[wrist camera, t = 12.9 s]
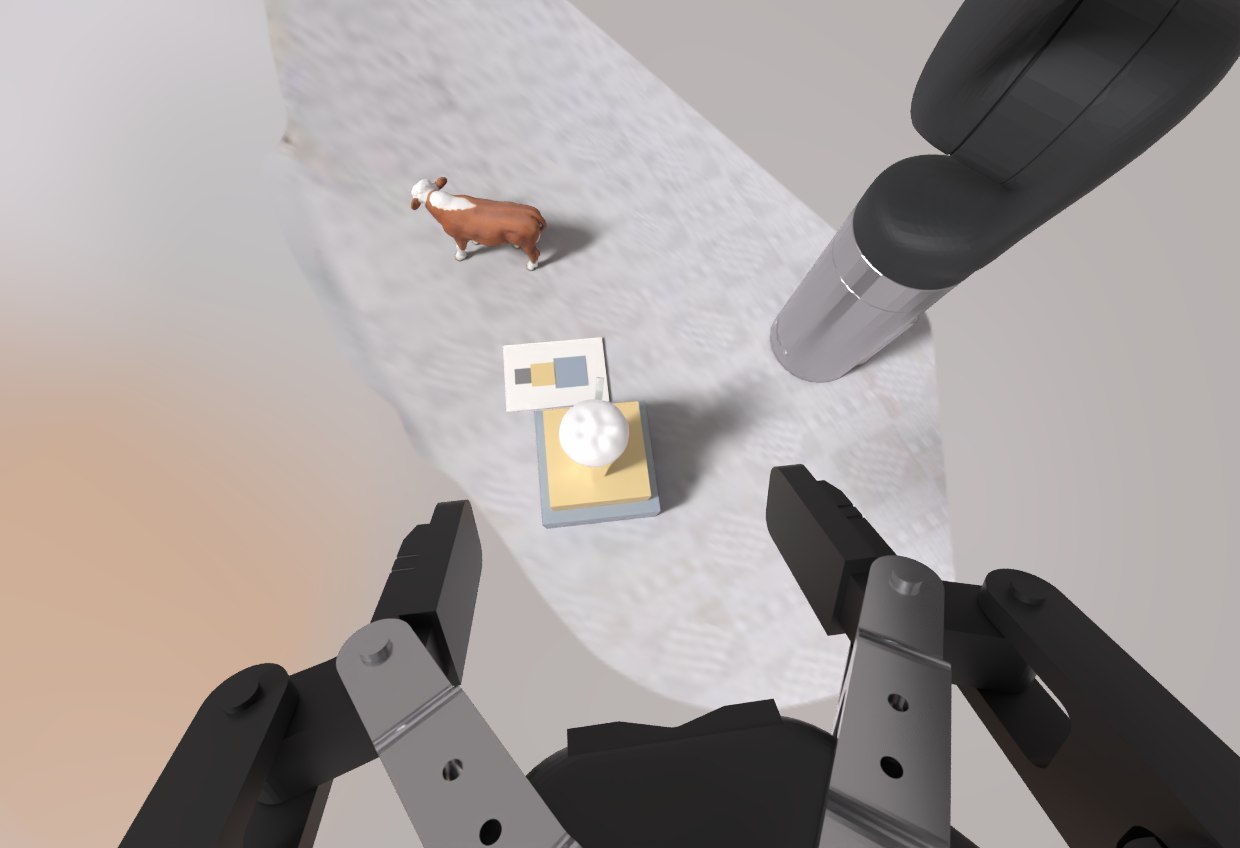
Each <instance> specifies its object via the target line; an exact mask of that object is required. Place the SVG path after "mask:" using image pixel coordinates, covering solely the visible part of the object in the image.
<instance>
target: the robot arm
mask: <svg viewBox="0 0 1240 848" xmlns="http://www.w3.org/2000/svg"><path fill="white" fill-rule="evenodd" d="M1239 56H1240V0H965V1H964V3H963V4H962V5H961V7H960V8H959V10H958V11H957V13H956V15H955V16H954V18H953V19H952V21H951V22H950V24H949V25H948V27H947V28H946V30H945V32H944V33H943V35H942V36H941V38H940V39H939V41H938V43H937V45H936V47H935V48H934V50H933V52H932V54H931V55H930V57H929V59H928V61H927V63H926V64H925V67H924V69H923V71H922V73H921V75H920V78H919V80H918V82H917V85H916V88H915V91H914V94H913V98H912V103H911V119H912V124H913V126H914V128H915V129H916V131H917V132H918V133H919V134H920V135H921V136H922V137H923V138H924V139H926V140H927V141H928V142H929V143H930V144H931V145H933V146H934V147H935V148H937V149H938V150H940V151H942V152H943V153H945V154H947V155H948V154H950V156H947V155H920V156H914V157H910V158H906V159H903V160H901V161H899V162H897V163H895V164H893V165H891V166H890V167H889V168H887V169H886V170H884V171H883V172H882V173H881V174H880V175H879V176H878V177H877V178H876V179H875V180H874V182H873V183H872V184H871V185H870V187H869V188H868V189H867V191H866V192H865V194H864V195H863V197H862V198H861V199H860V201H859V202H858V203H857V205H856V206H855V208H854V209H853V210H852V212H851V213H850V215H849V216H848V217H847V219H846V220H845V222H844V223H843V225H842V226H841V227H840V229H839V230H838V232H837V233H836V235H835V236H834V237H833V239H832V240H831V242H830V243H829V244H828V246H827V247H826V249H825V250H824V251H823V253H822V254H821V256H820V257H819V258H818V260H817V261H816V263H815V264H814V265H813V267H812V268H811V270H810V271H809V272H808V274H807V275H806V277H805V278H804V279H803V281H802V282H801V284H800V285H799V286H798V288H797V289H796V291H795V292H794V293H793V295H792V296H791V298H790V299H789V300H788V302H787V303H786V305H785V306H784V308H783V309H782V310H781V312H780V313H779V315H778V316H777V318H776V319H775V321H774V323H773V325H772V328H771V335H770V339H771V346H772V349H773V352H774V354H775V356H776V358H777V359H778V361H779V362H780V363H781V365H782V366H783V367H784V368H785V369H786V370H788V371H789V372H790V373H791V374H793V375H795V376H797V377H799V378H801V379H803V380H807V381H810V382H829V381H832V380H835V379H838V378H839V377H841V376H843V375H844V374H846V373H847V372H848V371H849V370H851V369H852V368H853V367H855V366H856V365H862V364H863V363H864V362H866V361H867V360H868V359H870V358H871V357H872V356H874V355H875V354H876V353H877V352H879V351H880V350H881V349H883V348H884V347H885V346H886V345H888V344H889V343H890V342H892V341H893V340H894V339H895V338H897V337H898V336H899V335H901V334H902V333H903V332H905V331H906V330H907V329H908V328H910V327H911V326H912V325H914V324H915V323H916V322H917V321H918V318H919V315H920V314H922V313H923V312H924V311H925V310H927V309H928V308H929V307H931V306H932V305H933V304H934V303H936V302H937V301H938V300H939V299H940V298H942V297H943V296H944V295H945V294H947V293H948V292H949V291H950V290H952V289H953V288H954V287H955V286H957V285H958V284H959V283H961V282H962V281H963V280H965V279H966V278H967V277H969V276H970V275H971V274H972V273H974V272H975V271H977V270H979V269H981V268H983V267H984V266H986V265H987V264H989V263H990V262H992V261H993V260H995V259H996V258H997V257H999V256H1000V255H1001V254H1002V253H1004V252H1005V251H1007V250H1008V249H1009V248H1010V247H1012V246H1013V245H1014V244H1016V243H1017V242H1018V241H1020V240H1021V239H1023V238H1024V237H1025V236H1027V235H1028V234H1030V233H1031V232H1032V231H1034V230H1035V229H1037V228H1038V227H1040V226H1041V225H1042V224H1044V223H1045V222H1047V221H1048V220H1050V219H1051V218H1053V217H1054V216H1055V215H1057V214H1058V213H1060V212H1061V211H1063V210H1064V209H1066V208H1067V207H1069V206H1070V205H1071V204H1073V203H1074V202H1076V201H1077V200H1079V199H1080V198H1082V197H1083V196H1084V195H1086V194H1087V193H1089V192H1090V191H1092V190H1093V189H1095V188H1096V187H1097V186H1098V185H1100V184H1102V183H1103V182H1104V181H1106V180H1107V179H1108V178H1110V177H1111V176H1113V175H1114V174H1115V173H1117V172H1118V171H1119V170H1121V169H1122V168H1124V167H1125V166H1126V165H1127V164H1129V163H1130V162H1132V161H1133V160H1134V159H1136V158H1137V157H1138V156H1140V155H1141V154H1142V153H1144V152H1145V151H1146V150H1147V149H1148V148H1150V147H1151V146H1152V145H1153V144H1154V143H1155V142H1157V141H1158V140H1159V139H1160V138H1162V137H1163V136H1164V135H1165V134H1166V133H1168V132H1169V131H1170V130H1171V129H1172V128H1173V127H1175V126H1176V125H1177V124H1178V123H1180V122H1181V121H1182V120H1183V119H1184V118H1185V117H1186V116H1187V115H1188V114H1189V113H1190V112H1191V111H1192V110H1193V109H1194V108H1195V107H1196V106H1197V105H1198V104H1199V103H1200V102H1201V101H1202V100H1203V99H1204V98H1205V97H1206V96H1207V95H1209V93H1210V92H1211V91H1212V90H1213V89H1214V88H1215V87H1216V86H1217V85H1218V84H1219V82H1220V81H1221V80H1222V79H1223V78H1224V77H1225V75H1226V74H1227V73H1228V71H1229V70H1230V69H1231V67H1232V66H1233V64H1234V63H1235V62H1236V60H1237V59H1238V57H1239ZM766 522H767V527H768V530H769V533H770V535H771V537H772V539H773V541H774V542H775V544H776V546H777V548H778V549H779V551H780V553H781V555H782V556H783V558H784V560H785V562H786V563H787V565H788V567H789V569H790V570H791V572H792V574H793V576H794V577H795V579H796V581H797V583H798V584H799V586H800V588H801V590H802V591H803V593H804V595H805V597H806V598H807V600H808V602H809V604H810V605H811V607H812V609H813V611H814V612H815V614H816V616H817V618H818V619H819V621H820V623H821V625H822V626H823V628H824V630H825V632H826V633H827V635H828V636H829V635H837V634H844V633H846V635H847V636H848V638H849V640H850V641H851V643H850V646H849V650H848V655H847V660H846V664H845V669H844V674H843V679H842V684H841V688H840V693H839V698H838V703H837V708H836V712H835V717H834V721H833V726H832V730H831V734H830V733H828V732H826V731H824V730H822V729H820V728H818V727H816V726H814V725H812V724H809V723H806V722H804V721H801V720H798V719H794V718H790V717H784V716H780V714H779V711H778V709H777V706H776V704H775V701H774V699H768V700H762V701H755V702H748V703H741V704H734V705H728V706H723V707H721V708H719V709H716V710H714V711H712V712H710V713H708V714H705V715H703V716H701V717H699V718H697V719H694V720H692V721H690V722H688V723H685V724H683V725H681V726H678V727H673V728H671V727H661V726H653V725H645V724H636V723H627V722H620V721H619V722H612V723H605V724H598V725H592V726H585V727H578V728H571V729H567V739H568V747H566V748H564V749H562V750H560V751H558V752H556V753H555V754H553V755H551V756H549V757H548V758H546V759H545V760H543V761H542V762H541V763H540V764H539V765H537V766H536V767H534V768H533V769H532V771H531V772H529V773H528V774H527V775H526V776H525V775H524V774H523V772H522V771H521V769H520V768H519V767H518V765H517V764H516V763H515V761H514V760H513V758H512V757H511V756H510V754H509V753H508V751H507V750H506V749H505V747H504V746H503V745H502V743H501V742H500V740H499V739H498V738H497V736H496V735H495V734H494V732H493V731H492V730H491V728H490V727H489V725H488V724H487V722H486V721H485V720H484V718H483V717H482V716H481V714H480V713H479V711H478V710H477V709H476V707H475V706H474V704H473V703H472V702H471V700H470V699H469V698H468V696H467V695H466V693H465V692H464V691H463V690H462V689H461V688H460V687H459V686H458V685H461V681H462V675H463V670H464V664H465V658H466V653H467V647H468V642H469V636H470V631H471V625H472V620H473V614H474V608H475V603H476V598H477V592H478V587H479V581H480V575H481V569H482V550H481V544H480V540H479V536H478V531H477V528H476V523H475V519H474V515H473V511H472V507H471V504H470V502H469V500H459V501H451V502H441V503H438V504H437V505H436V507H435V510H434V513H433V516H432V519H431V522H430V524H422V525H417V526H416V527H415V528H414V529H413V530H412V531H411V532H410V533H409V535H408V536H407V537H406V538H405V539H404V540H403V542H402V545H401V547H400V550H399V552H398V555H397V559H396V560H395V562H394V565H393V567H392V573H390V575H389V577H388V580H387V582H386V585H385V587H384V590H383V592H382V595H381V597H380V600H379V602H378V605H377V607H376V610H375V612H374V615H373V617H372V620H371V623H370V624H368V625H366V626H364V627H362V628H361V629H359V630H358V631H356V632H355V633H354V634H353V635H352V636H351V637H350V638H349V639H348V640H347V641H346V642H345V643H344V645H343V646H342V647H341V650H340V651H339V653H338V656H337V657H335V658H333V659H331V660H328V661H326V662H324V663H321V664H318V665H316V666H313V667H311V668H308V669H306V670H303V671H300V672H298V673H296V674H293V675H290V676H289V675H288V674H287V672H286V670H285V669H284V668H283V667H282V666H280V665H278V664H274V663H264V664H259V665H254V666H251V667H249V668H246V669H244V670H242V671H240V672H238V673H236V674H234V675H233V676H231V677H230V678H228V679H227V680H225V681H224V682H223V683H221V684H220V685H219V686H218V687H217V688H216V689H215V690H214V691H212V692H211V694H210V695H209V696H208V697H207V698H206V700H205V701H204V702H203V704H202V706H201V707H200V709H199V710H198V712H197V714H196V716H195V717H194V719H193V721H192V722H191V724H190V726H189V727H188V729H187V731H186V732H185V734H184V736H183V738H182V739H181V741H180V743H179V744H178V746H177V748H176V750H175V751H174V753H173V755H172V756H171V758H170V760H169V762H168V763H167V765H166V767H165V768H164V770H163V772H162V774H161V775H160V777H159V778H158V780H157V782H156V784H155V785H154V787H153V789H152V791H151V792H150V794H149V795H148V797H147V799H146V801H145V802H144V804H143V806H142V807H141V809H140V811H139V813H138V814H137V816H136V818H135V819H134V821H133V823H132V824H131V826H130V828H129V830H128V831H127V833H126V835H125V836H124V838H123V840H122V841H121V843H120V845H119V847H118V848H313V844H314V841H315V838H316V834H317V831H318V828H319V824H320V821H321V818H322V815H323V812H324V808H325V805H326V802H327V799H328V795H329V792H330V788H331V785H332V782H333V779H334V778H336V777H338V776H340V775H342V774H344V773H346V772H348V771H351V770H353V769H355V768H357V767H359V766H361V765H363V764H365V763H368V762H370V761H372V760H373V759H376V758H378V757H380V759H381V761H382V763H383V765H384V767H385V769H386V771H387V773H388V776H389V777H390V780H391V782H392V783H393V786H394V787H395V790H396V792H397V794H398V796H399V798H400V800H401V802H402V804H403V806H404V808H405V810H406V812H407V814H408V816H409V818H410V820H411V822H412V824H413V826H414V828H415V830H416V832H417V834H418V836H419V838H420V840H421V842H422V844H423V847H424V848H979V847H978V846H977V845H975V844H974V843H973V842H972V841H970V840H969V839H968V838H966V837H965V836H964V835H962V834H961V833H960V832H959V831H957V830H956V829H955V828H953V827H952V826H951V825H950V803H951V800H950V798H951V684H955V685H957V686H958V688H959V689H960V690H961V692H962V693H963V695H964V696H965V698H966V699H967V701H968V702H969V703H970V705H971V706H972V708H973V709H974V711H975V712H976V713H977V715H978V716H979V718H980V719H981V721H982V722H983V724H984V725H985V726H986V728H987V729H988V731H989V732H990V734H991V735H992V737H993V738H994V739H995V741H996V742H997V744H998V745H999V746H1000V748H1001V749H1002V751H1003V752H1004V754H1005V755H1006V757H1007V758H1008V760H1009V761H1010V762H1011V764H1012V765H1013V767H1014V768H1015V769H1016V771H1017V772H1018V774H1019V775H1020V777H1021V778H1022V780H1023V781H1024V783H1025V784H1026V785H1027V787H1028V788H1029V790H1030V791H1031V793H1032V794H1033V795H1034V797H1035V798H1036V800H1037V801H1038V803H1039V804H1040V806H1041V807H1042V808H1043V810H1044V811H1045V813H1046V814H1047V816H1048V817H1049V819H1050V820H1051V821H1052V823H1053V824H1054V826H1055V827H1056V829H1057V830H1058V831H1059V833H1060V834H1061V836H1062V837H1063V839H1064V840H1065V842H1066V843H1067V844H1068V846H1069V847H1070V848H1240V757H1239V756H1238V755H1237V754H1236V753H1235V752H1234V751H1233V750H1231V749H1230V748H1229V747H1228V746H1227V745H1226V744H1225V743H1224V742H1223V741H1222V740H1221V739H1220V738H1219V737H1217V736H1216V735H1215V734H1214V733H1213V732H1212V731H1211V730H1210V729H1209V728H1208V727H1207V726H1206V725H1204V724H1203V723H1202V722H1201V721H1200V720H1199V719H1198V718H1197V717H1196V716H1195V715H1193V713H1191V712H1190V711H1189V710H1188V709H1187V708H1186V707H1185V706H1184V705H1183V704H1182V703H1180V701H1178V700H1177V699H1176V698H1175V697H1174V696H1173V695H1172V694H1171V693H1170V692H1169V691H1168V690H1167V689H1165V688H1164V687H1163V686H1162V685H1161V684H1160V683H1159V682H1158V681H1157V680H1156V679H1155V678H1154V677H1152V676H1151V675H1150V674H1149V673H1148V672H1147V671H1146V670H1145V669H1143V667H1141V665H1139V664H1138V663H1137V662H1136V661H1135V660H1134V659H1133V658H1132V657H1131V656H1130V655H1129V654H1128V653H1126V652H1125V651H1124V650H1123V649H1122V648H1121V647H1120V646H1119V645H1118V644H1117V643H1115V641H1113V640H1112V639H1111V638H1110V637H1109V636H1108V635H1107V634H1106V633H1105V632H1104V631H1103V630H1102V629H1100V628H1099V627H1098V626H1097V625H1096V624H1095V623H1094V622H1093V621H1092V620H1091V619H1089V618H1088V617H1087V616H1086V615H1085V614H1084V613H1083V612H1082V611H1081V610H1080V609H1079V608H1078V607H1077V606H1075V605H1074V604H1073V603H1072V602H1071V601H1070V600H1069V599H1068V598H1067V597H1066V596H1065V595H1063V594H1062V593H1061V592H1060V591H1059V590H1058V589H1057V588H1056V587H1054V586H1053V585H1051V584H1050V583H1048V582H1046V581H1045V580H1043V579H1041V578H1039V577H1037V576H1035V575H1032V574H1029V573H1026V572H1023V571H1019V570H1014V569H997V570H994V571H991V572H990V573H988V575H987V576H986V578H985V580H984V583H983V585H982V586H980V585H972V584H963V583H956V582H948V581H942V580H941V579H940V578H939V576H938V575H937V574H936V573H935V572H934V571H933V570H931V569H930V568H929V567H927V566H926V565H924V564H922V563H920V562H918V561H916V560H913V559H910V558H907V557H903V556H897V555H896V554H895V552H894V551H893V550H892V549H891V548H890V547H889V546H888V544H887V543H886V542H885V541H884V540H883V539H882V537H881V536H880V535H879V534H878V533H877V532H876V530H875V529H874V528H873V527H872V526H871V525H870V523H869V522H868V521H867V520H866V519H865V518H863V517H862V514H861V513H860V512H859V511H858V510H857V508H856V507H853V504H852V503H851V501H850V500H849V499H848V498H847V497H846V496H845V494H844V493H843V492H842V491H841V490H839V489H837V488H836V487H834V486H833V485H831V484H829V483H828V482H826V481H824V480H822V481H816V479H815V478H814V477H813V476H812V474H811V473H810V472H809V471H808V470H807V468H806V467H805V466H804V465H802V464H796V465H787V466H778V467H773V468H772V470H771V474H770V481H769V490H768V498H767V507H766ZM1036 675H1038V676H1039V677H1040V679H1041V680H1042V681H1043V682H1044V683H1045V684H1046V685H1047V686H1048V688H1049V689H1050V690H1051V691H1052V692H1053V694H1054V695H1055V696H1056V697H1057V698H1058V699H1059V701H1060V702H1061V703H1062V704H1063V706H1064V707H1065V709H1066V711H1067V713H1068V715H1069V717H1068V716H1067V715H1066V714H1065V713H1064V712H1063V710H1061V708H1060V707H1059V706H1058V705H1057V703H1056V702H1055V701H1054V700H1053V699H1052V698H1051V696H1050V695H1049V694H1048V693H1047V692H1046V690H1045V689H1044V688H1043V687H1042V686H1041V685H1040V684H1039V682H1038V681H1037V680H1036V679H1035V676H1036ZM453 686H454V687H453ZM1069 718H1070V719H1069Z"/></svg>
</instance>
